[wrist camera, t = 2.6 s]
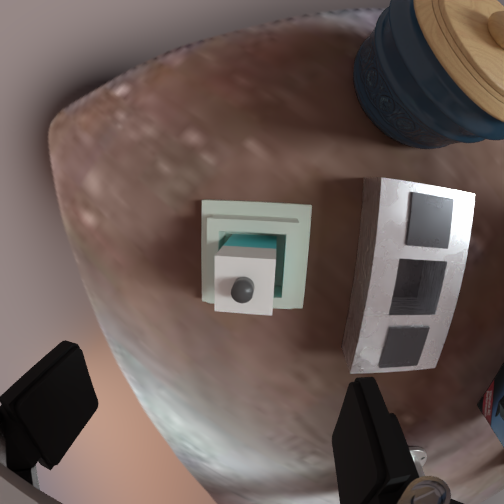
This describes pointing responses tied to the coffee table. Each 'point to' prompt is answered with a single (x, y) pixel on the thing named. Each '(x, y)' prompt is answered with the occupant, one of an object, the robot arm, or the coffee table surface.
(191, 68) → the coffee table surface
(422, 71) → the canister
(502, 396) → the router box
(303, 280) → the pale green square tray
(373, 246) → the port panel
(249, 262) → the white teal block
